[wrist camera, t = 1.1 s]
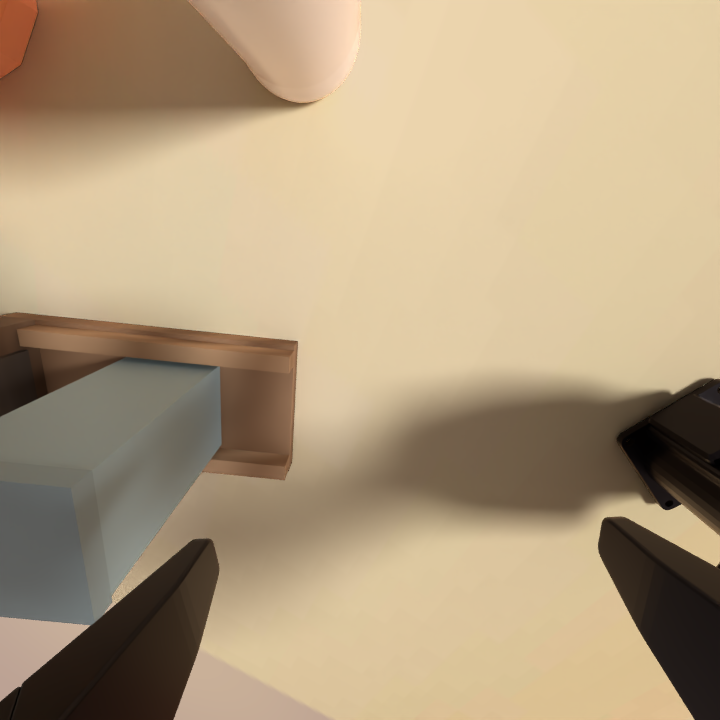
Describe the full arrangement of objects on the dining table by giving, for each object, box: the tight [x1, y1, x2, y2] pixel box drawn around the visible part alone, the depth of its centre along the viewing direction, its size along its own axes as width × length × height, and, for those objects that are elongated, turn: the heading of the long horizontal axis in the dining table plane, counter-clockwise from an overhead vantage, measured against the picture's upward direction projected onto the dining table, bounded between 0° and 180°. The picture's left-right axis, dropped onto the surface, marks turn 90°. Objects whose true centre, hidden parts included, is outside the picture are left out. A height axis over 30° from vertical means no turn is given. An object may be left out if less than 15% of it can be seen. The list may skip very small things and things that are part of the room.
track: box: [0, 313, 298, 480], centre depth 18 cm, size 16×8×9 cm, turn 84°
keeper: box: [0, 357, 222, 625], centre depth 16 cm, size 5×5×11 cm
